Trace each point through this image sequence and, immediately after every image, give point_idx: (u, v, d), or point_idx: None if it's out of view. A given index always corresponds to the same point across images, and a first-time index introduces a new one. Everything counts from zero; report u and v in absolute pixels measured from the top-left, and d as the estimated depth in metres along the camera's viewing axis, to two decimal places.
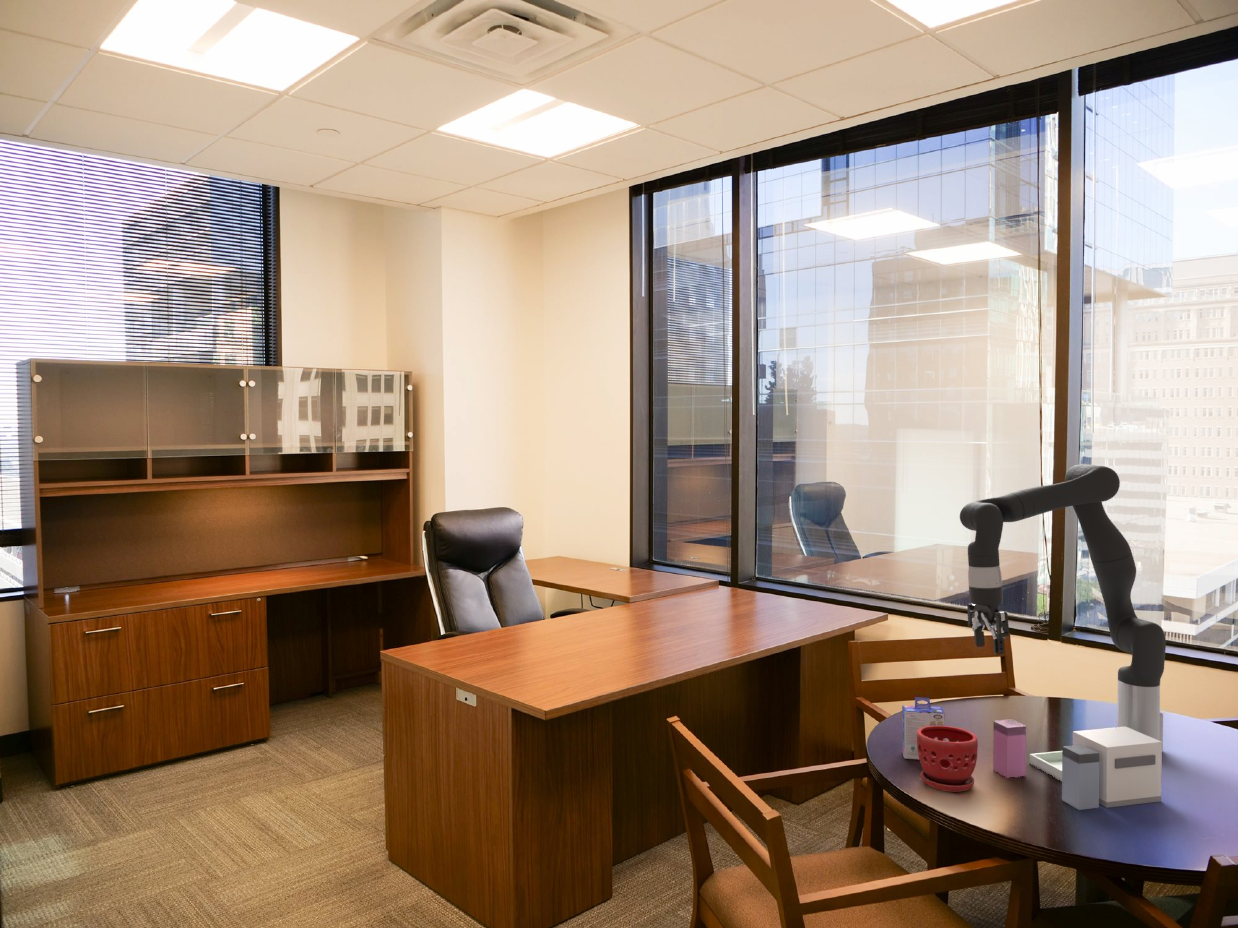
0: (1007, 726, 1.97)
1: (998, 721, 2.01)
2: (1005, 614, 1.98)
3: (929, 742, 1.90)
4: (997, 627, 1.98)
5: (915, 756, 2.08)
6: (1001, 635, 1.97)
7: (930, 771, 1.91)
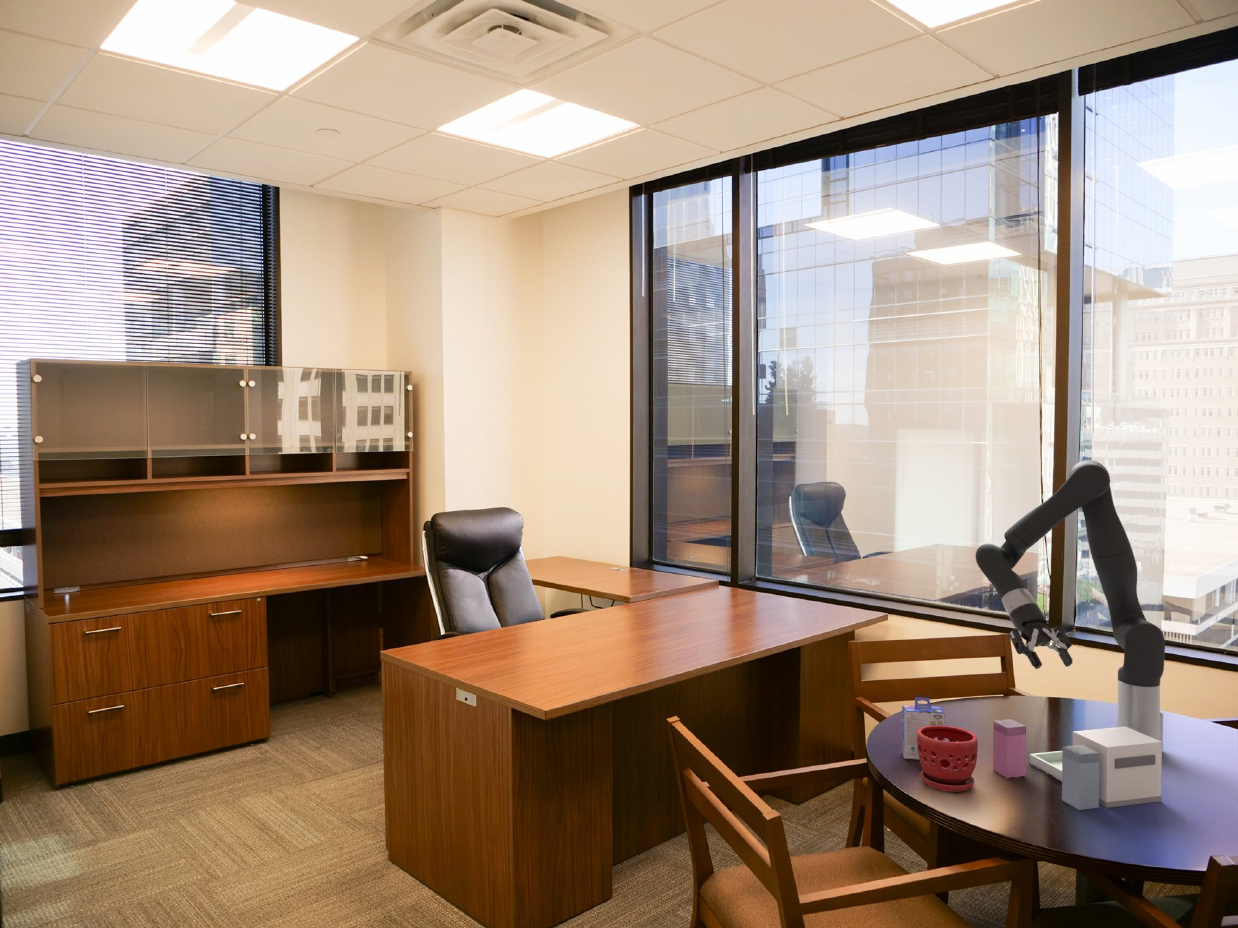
0: (1007, 726, 1.97)
1: (998, 721, 2.01)
2: (1012, 631, 2.10)
3: (929, 742, 1.90)
4: None
5: (915, 756, 2.08)
6: (1017, 651, 2.08)
7: (930, 771, 1.91)
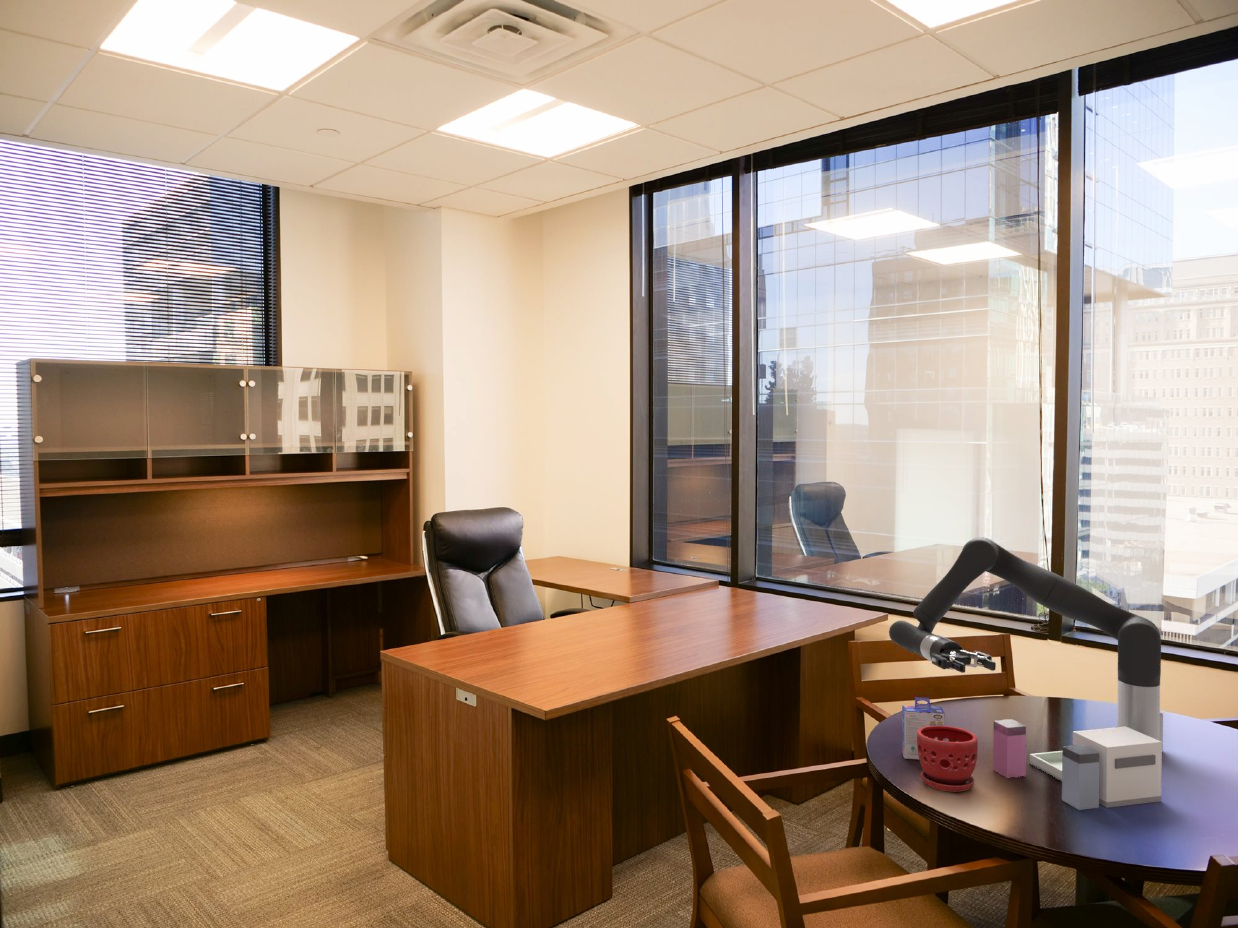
0: (1007, 726, 1.97)
1: (998, 721, 2.01)
2: (932, 656, 2.18)
3: (929, 742, 1.90)
4: None
5: (915, 756, 2.08)
6: (942, 666, 2.13)
7: (930, 771, 1.91)
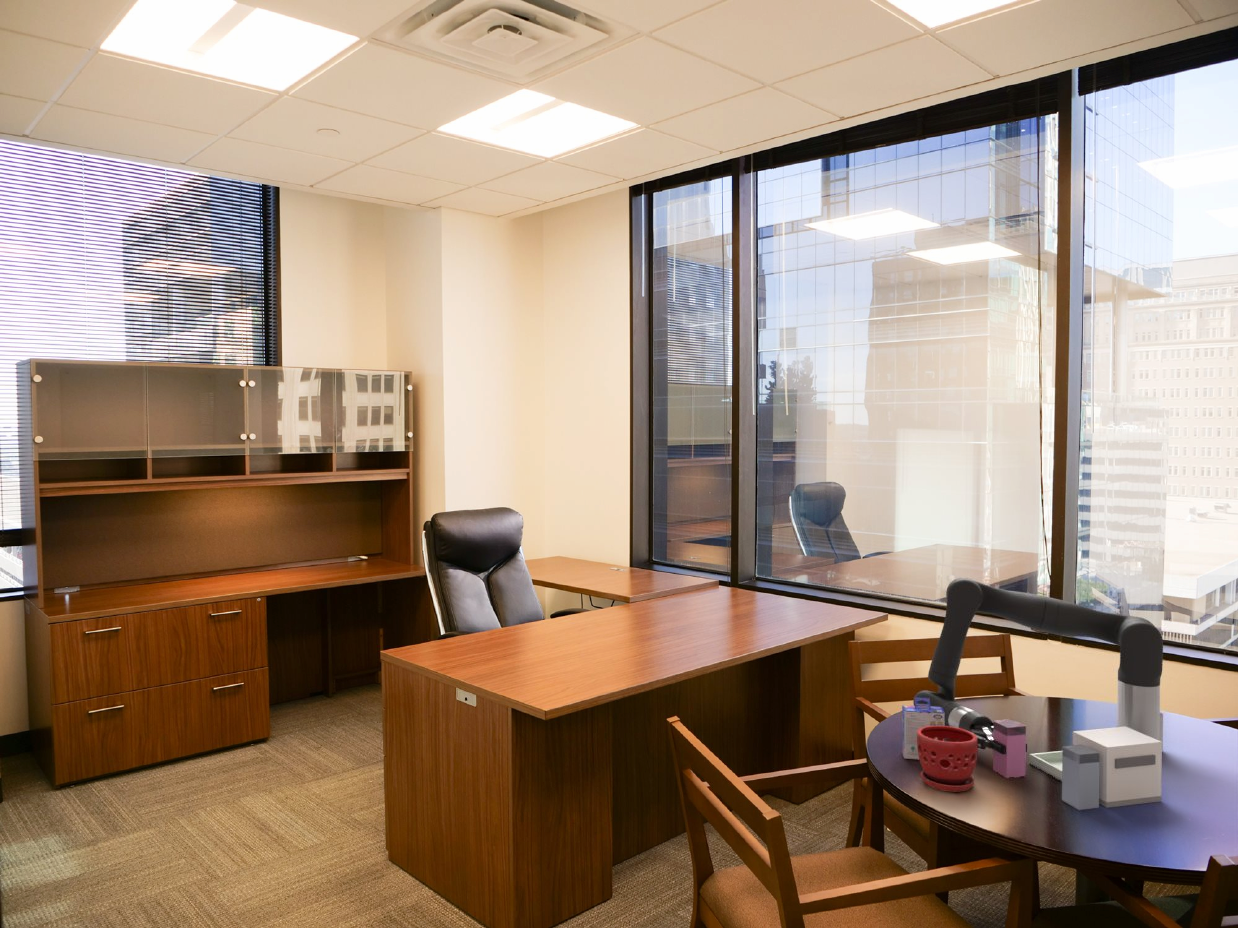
0: (1007, 726, 1.97)
1: (998, 721, 2.01)
2: None
3: (929, 742, 1.90)
4: None
5: (915, 756, 2.08)
6: (981, 747, 2.01)
7: (930, 771, 1.91)
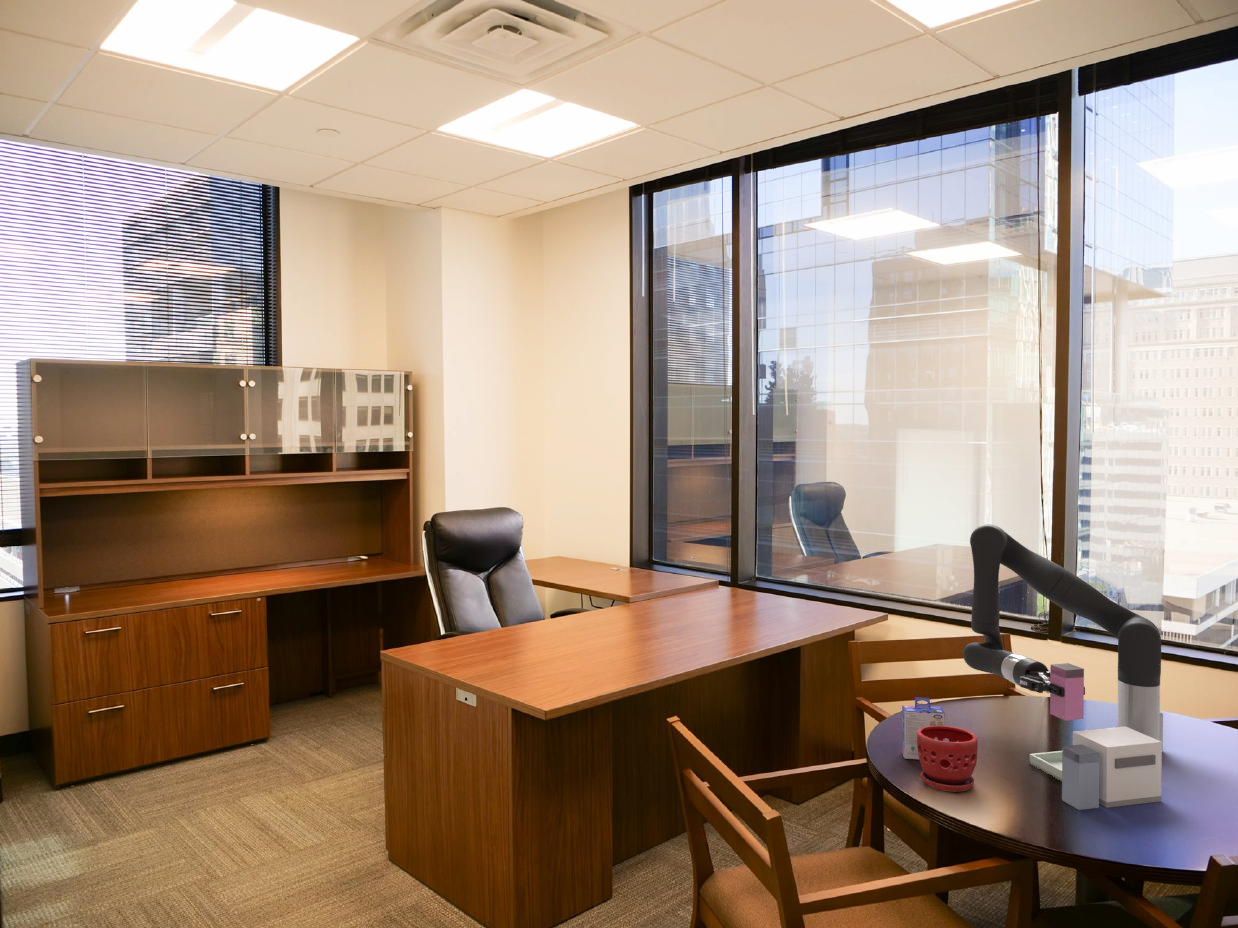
0: (1065, 669, 1.97)
1: (1055, 665, 2.01)
2: (1021, 679, 2.06)
3: (929, 742, 1.90)
4: None
5: (915, 756, 2.08)
6: (1038, 690, 2.01)
7: (930, 771, 1.91)
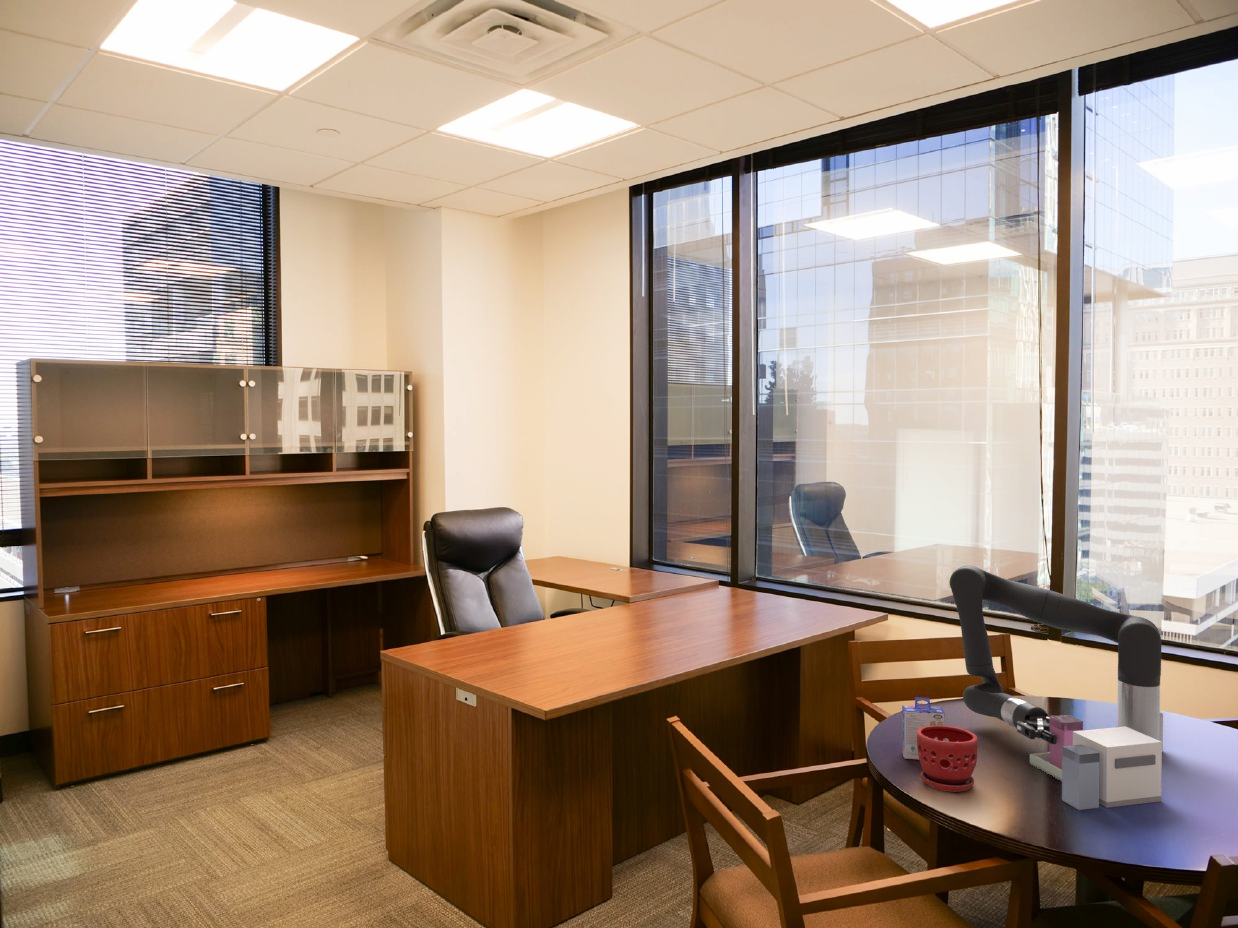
0: (1064, 721, 1.98)
1: (1054, 716, 2.02)
2: (1017, 724, 2.07)
3: (929, 742, 1.90)
4: None
5: (915, 756, 2.08)
6: (1030, 736, 2.02)
7: (930, 771, 1.91)
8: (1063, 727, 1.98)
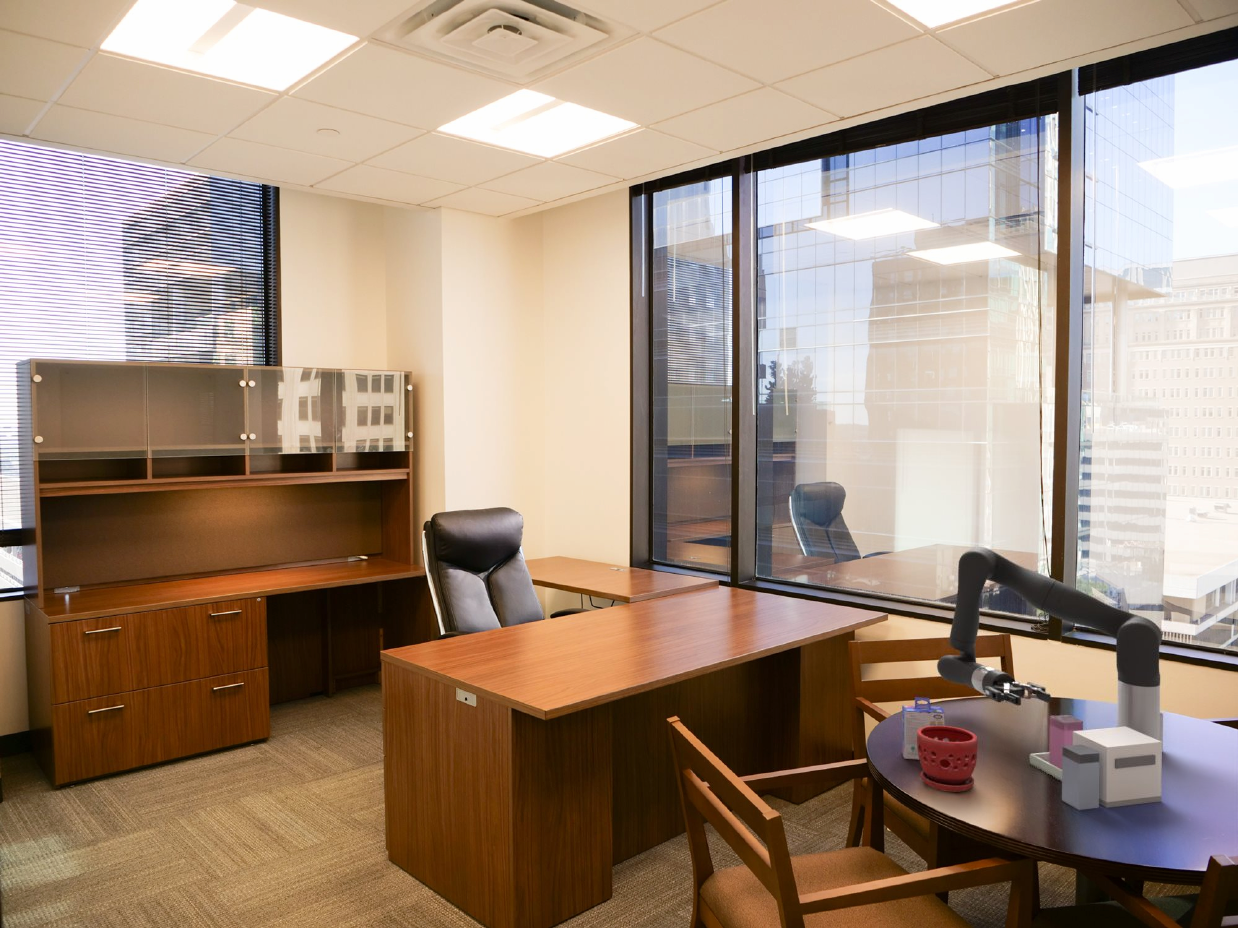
0: (1064, 721, 1.98)
1: (1054, 716, 2.02)
2: (985, 688, 2.19)
3: (929, 742, 1.90)
4: None
5: (915, 756, 2.08)
6: (996, 699, 2.15)
7: (930, 771, 1.91)
8: (1063, 727, 1.98)
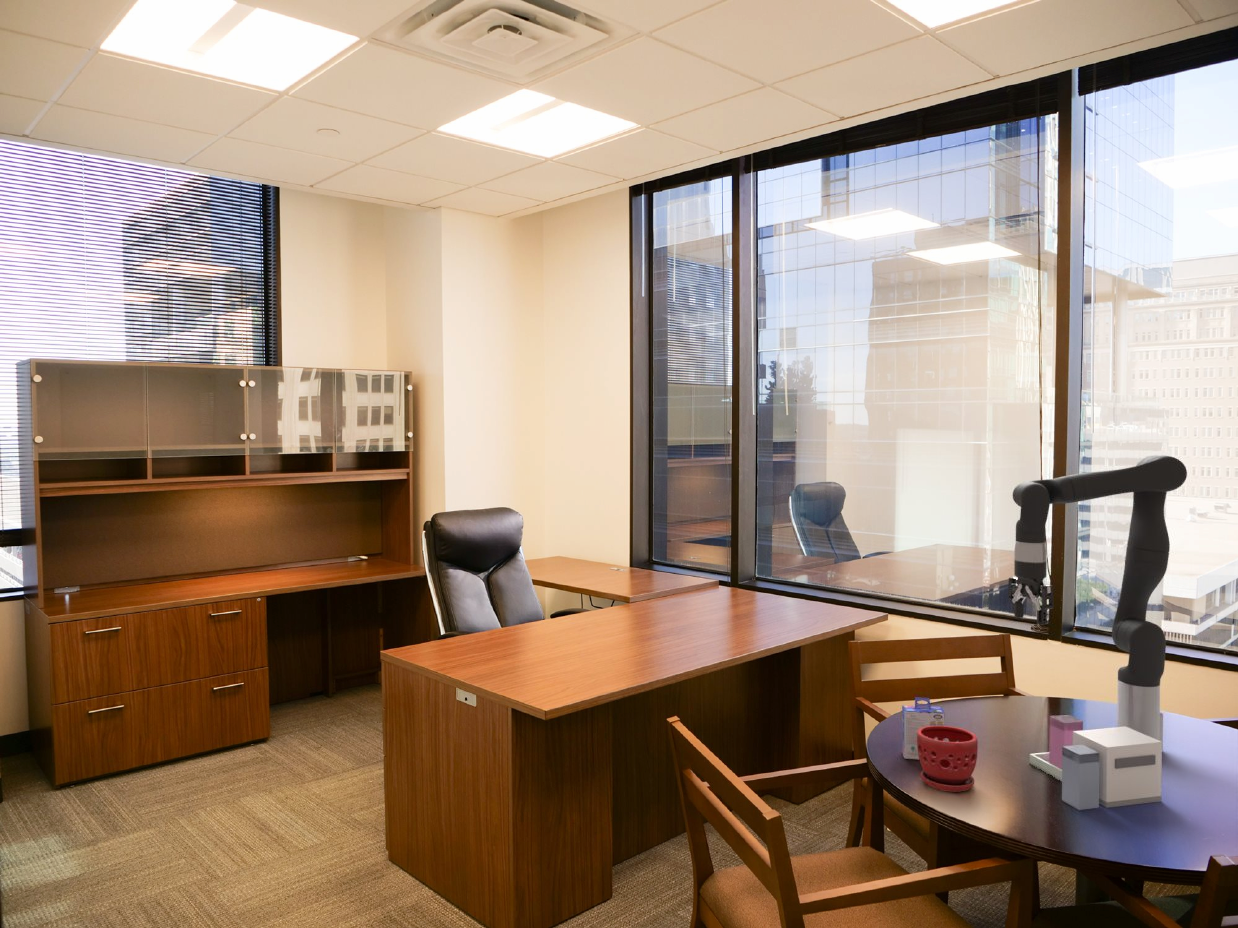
0: (1064, 721, 1.98)
1: (1054, 716, 2.02)
2: (1051, 587, 2.11)
3: (929, 742, 1.90)
4: (1042, 599, 2.11)
5: (915, 756, 2.08)
6: (1046, 607, 2.11)
7: (930, 771, 1.91)
8: (1063, 727, 1.98)
